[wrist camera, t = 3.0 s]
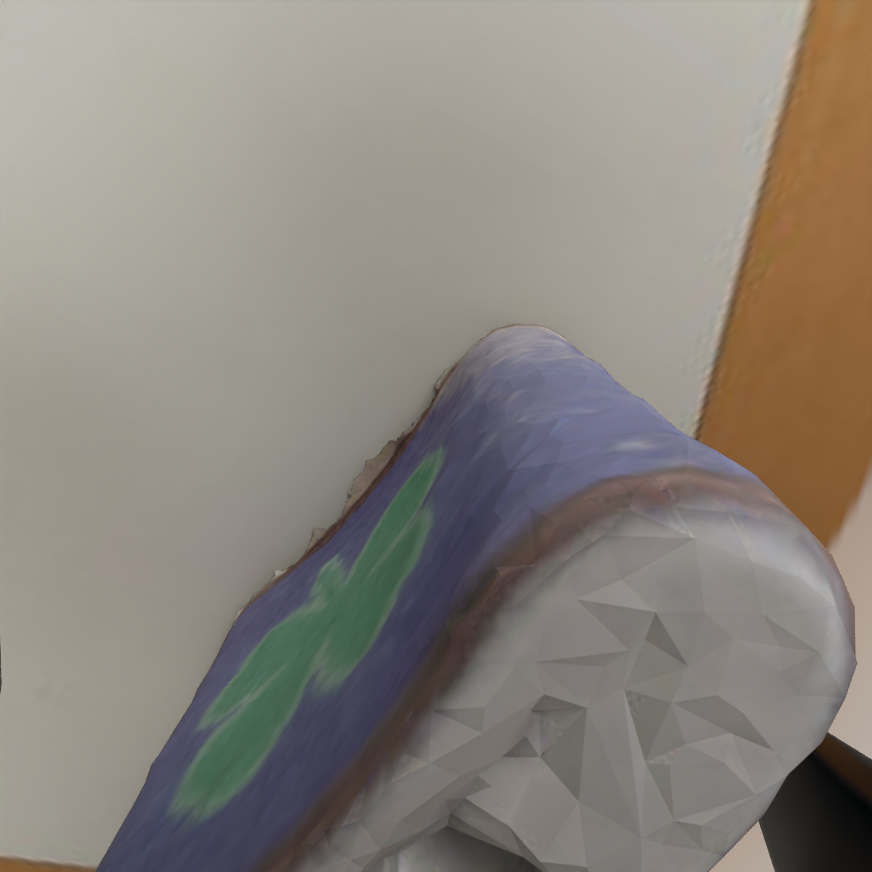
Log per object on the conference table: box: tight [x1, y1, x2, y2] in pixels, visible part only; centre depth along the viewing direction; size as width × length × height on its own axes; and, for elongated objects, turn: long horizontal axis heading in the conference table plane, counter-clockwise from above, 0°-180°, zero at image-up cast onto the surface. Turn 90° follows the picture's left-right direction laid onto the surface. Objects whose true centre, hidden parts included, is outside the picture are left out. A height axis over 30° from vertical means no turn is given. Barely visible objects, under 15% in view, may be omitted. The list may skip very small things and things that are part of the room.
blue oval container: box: [95, 324, 857, 872], centre depth 8 cm, size 9×3×11 cm, turn 139°
